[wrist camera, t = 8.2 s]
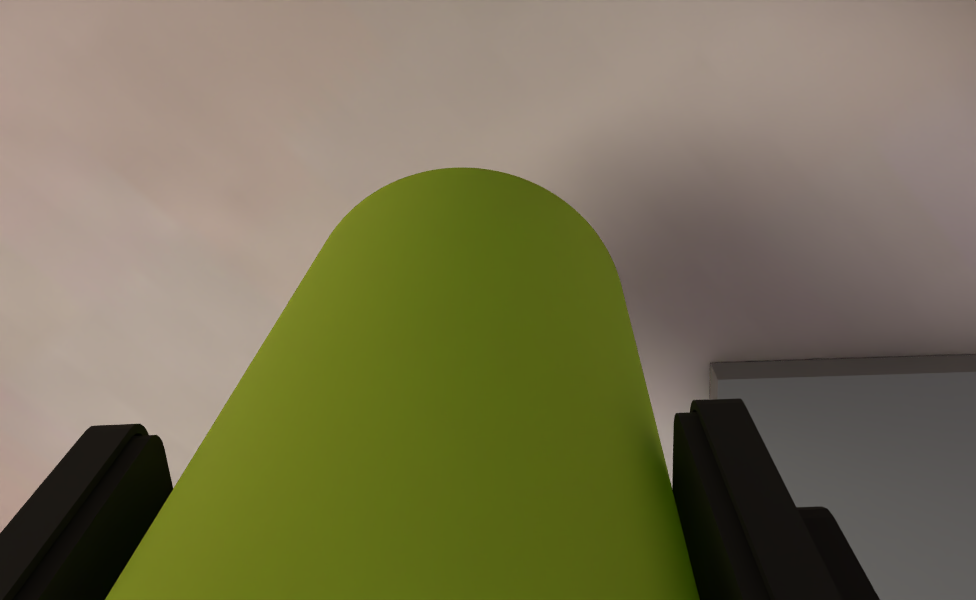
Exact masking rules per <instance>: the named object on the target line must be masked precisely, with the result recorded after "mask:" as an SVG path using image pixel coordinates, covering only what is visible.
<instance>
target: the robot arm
mask: <svg viewBox="0 0 976 600" xmlns="http://www.w3.org/2000/svg"><path fill="white" fill-rule="evenodd" d="M172 490H173V486H172V481H171V477H170V472H169V468H168V463H167V458H166V454H165V449H164V446H163V442H162V440H161V439H160V437H159V436H157V435H148V432H147V430H146V429H145V427H144V426H142V425H141V424H124V425H100V426H91V427H90V428H88V429H87V430H86V431H85V432H84V434H83V435H82V436H81V437H80V438H79V440H78V441H77V442H76V443H75V444H74V446H73V447H72V448H71V449H70V450H69V452H68V453H67V454H66V455H65V456H64V458H63V459H62V460H61V461H60V462H59V464H58V465H57V466H56V467H55V468H54V470H53V471H52V472H51V473H50V474H49V476H48V477H47V478H46V479H45V480H44V482H43V483H42V484H41V485H40V486H39V488H38V489H37V490H36V491H35V492H34V494H33V495H32V496H31V497H30V498H29V500H28V501H27V502H26V503H25V504H24V506H23V507H22V508H21V509H20V510H19V512H18V513H17V514H16V515H15V516H14V518H13V519H12V520H11V521H10V522H9V524H8V525H7V526H6V527H5V528H4V530H3V531H2V532H1V533H0V600H105V599H106V597H107V596H108V594H109V592H110V591H111V589H112V587H113V586H114V584H115V583H116V581H117V579H118V578H119V576H120V574H121V573H122V571H123V570H124V568H125V566H126V565H127V563H128V561H129V560H130V558H131V557H132V555H133V553H134V552H135V550H136V549H137V547H138V545H139V544H140V542H141V540H142V539H143V537H144V536H145V534H146V532H147V531H148V529H149V527H150V526H151V524H152V523H153V521H154V519H155V518H156V516H157V515H158V513H159V511H160V510H161V508H162V506H163V505H164V503H165V502H166V500H167V498H168V497H169V495H170V493H171V492H172ZM672 491H673V495H674V499H675V503H676V507H677V511H678V515H679V519H680V523H681V527H682V531H683V535H684V539H685V543H686V547H687V551H688V555H689V559H690V563H691V567H692V571H693V575H694V579H695V583H696V587H697V591H698V595H699V599H700V600H880V599H879V597H878V595H877V593H876V592H875V590H874V588H873V586H872V584H871V583H870V581H869V579H868V577H867V575H866V574H865V572H864V570H863V568H862V566H861V565H860V563H859V561H858V559H857V557H856V556H855V554H854V552H853V550H852V548H851V547H850V545H849V543H848V541H847V539H846V538H845V536H844V534H843V532H842V530H841V529H840V527H839V525H838V523H837V521H836V520H835V518H834V516H833V515H832V514H831V512H830V511H829V510H828V509H827V508H825V507H822V506H818V507H796V506H795V504H794V502H793V500H792V498H791V496H790V494H789V492H788V490H787V488H786V486H785V484H784V482H783V480H782V478H781V476H780V474H779V472H778V470H777V468H776V466H775V464H774V462H773V460H772V458H771V456H770V454H769V452H768V450H767V448H766V446H765V444H764V442H763V440H762V438H761V436H760V434H759V432H758V430H757V428H756V426H755V424H754V422H753V420H752V418H751V416H750V414H749V412H748V410H747V408H746V406H745V404H744V402H743V400H742V399H740V398H736V399H712V400H693V401H692V403H691V408H690V413H676V414H675V418H674V438H673V488H672Z"/></svg>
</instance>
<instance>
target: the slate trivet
mask: <svg viewBox="0 0 976 600" xmlns="http://www.w3.org/2000/svg"><path fill="white" fill-rule="evenodd" d="M736 398H740V399H742V400H743V402H744V404H745V406H746V408H747V410H748V412H749V414H750V416H751V418H752V420H753V422H754V424H755V426H756V428H757V430H758V432H759V434H760V436H761V438H762V440H763V442H764V444H765V446H766V448H767V450H768V452H769V454H770V456H771V458H772V460H773V462H774V464H775V466H776V468H777V470H778V472H779V474H780V476H781V478H782V480H783V482H784V484H785V486H786V488H787V490H788V492H789V494H790V496H791V498H792V500H793V502H794V504H795V506H796V507H818V506H822V507H825V508H827V509H828V510H829V511H830V512H831V514H832V515H833V516H834V518H835V520H836V521H837V523H838V525H839V527H840V529H841V530H842V532H843V534H844V536H845V538H846V539H847V541H848V543H849V545H850V547H851V548H852V550H853V552H854V554H855V556H856V557H857V559H858V561H859V563H860V565H861V566H862V568H863V570H864V572H865V574H866V575H867V577H868V579H869V581H870V583H871V584H872V586H873V588H874V590H875V592H876V593H877V595H878V597H879V599H880V600H976V354H972V355H941V356H911V357H880V358H849V359H818V360H787V361H756V362H725V363H710V395H709V400H712V399H736Z"/></svg>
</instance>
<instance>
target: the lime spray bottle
mask: <svg viewBox="0 0 976 600" xmlns="http://www.w3.org/2000/svg"><path fill="white" fill-rule="evenodd" d="M105 600H700V599H699V595H698V591H697V587H696V583H695V579H694V575H693V571H692V567H691V563H690V559H689V555H688V551H687V547H686V543H685V539H684V535H683V531H682V527H681V523H680V519H679V515H678V511H677V507H676V503H675V499H674V495H673V491H672V487H671V483H670V479H669V474H668V470H667V466H666V462H665V458H664V454H663V450H662V446H661V442H660V438H659V434H658V430H657V426H656V422H655V418H654V414H653V410H652V406H651V402H650V398H649V394H648V390H647V386H646V382H645V378H644V374H643V370H642V366H641V362H640V358H639V354H638V350H637V346H636V342H635V338H634V334H633V330H632V326H631V322H630V318H629V314H628V310H627V306H626V302H625V298H624V294H623V290H622V286H621V282H620V279H619V276H618V273H617V270H616V267H615V265H614V263H613V260H612V258H611V256H610V254H609V252H608V250H607V249H606V247H605V245H604V244H603V242H602V240H601V239H600V238H599V236H598V235H597V233H596V232H595V231H594V229H593V228H592V227H591V226H590V225H589V223H588V222H587V221H586V220H585V219H584V218H583V217H582V216H581V215H580V214H579V213H578V212H577V211H576V210H575V209H573V208H572V207H571V206H570V205H569V204H567V203H566V202H565V201H563V200H562V199H561V198H559V197H558V196H556V195H555V194H553V193H551V192H550V191H548V190H546V189H544V188H543V187H541V186H539V185H537V184H534V183H532V182H530V181H528V180H525V179H523V178H520V177H517V176H514V175H510V174H507V173H503V172H499V171H493V170H487V169H479V168H445V169H437V170H431V171H426V172H422V173H418V174H414V175H411V176H408V177H405V178H402V179H400V180H397V181H395V182H393V183H391V184H389V185H386V186H385V187H383V188H381V189H379V190H377V191H376V192H374V193H373V194H371V195H370V196H368V197H367V198H365V199H364V200H363V201H361V202H360V203H359V204H358V205H357V206H355V207H354V208H353V209H352V210H351V211H350V212H349V213H348V214H347V215H346V216H345V217H344V218H343V219H342V220H341V222H340V223H339V224H338V225H337V226H336V228H335V229H334V230H333V232H332V233H331V235H330V236H329V238H328V239H327V241H326V242H325V244H324V246H323V247H322V249H321V251H320V252H319V254H318V255H317V257H316V259H315V260H314V262H313V263H312V265H311V267H310V268H309V270H308V272H307V273H306V275H305V276H304V278H303V280H302V281H301V283H300V285H299V286H298V288H297V289H296V291H295V293H294V294H293V296H292V297H291V299H290V301H289V302H288V304H287V306H286V307H285V309H284V310H283V312H282V314H281V315H280V317H279V319H278V320H277V322H276V323H275V325H274V327H273V328H272V330H271V331H270V333H269V335H268V336H267V338H266V340H265V341H264V343H263V344H262V346H261V348H260V349H259V351H258V353H257V354H256V356H255V357H254V359H253V361H252V362H251V364H250V366H249V367H248V369H247V370H246V372H245V374H244V375H243V377H242V378H241V380H240V382H239V383H238V385H237V387H236V388H235V390H234V391H233V393H232V395H231V396H230V398H229V400H228V401H227V403H226V404H225V406H224V408H223V409H222V411H221V412H220V414H219V416H218V417H217V419H216V421H215V422H214V424H213V425H212V427H211V429H210V430H209V432H208V434H207V435H206V437H205V438H204V440H203V442H202V443H201V445H200V446H199V448H198V450H197V451H196V453H195V455H194V456H193V458H192V459H191V461H190V463H189V464H188V466H187V468H186V469H185V471H184V472H183V474H182V476H181V477H180V479H179V481H178V482H177V484H176V485H175V487H174V489H173V490H172V492H171V493H170V495H169V497H168V498H167V500H166V502H165V503H164V505H163V506H162V508H161V510H160V511H159V513H158V515H157V516H156V518H155V519H154V521H153V523H152V524H151V526H150V527H149V529H148V531H147V532H146V534H145V536H144V537H143V539H142V540H141V542H140V544H139V545H138V547H137V549H136V550H135V552H134V553H133V555H132V557H131V558H130V560H129V561H128V563H127V565H126V566H125V568H124V570H123V571H122V573H121V574H120V576H119V578H118V579H117V581H116V583H115V584H114V586H113V587H112V589H111V591H110V592H109V594H108V596H107V597H106V599H105Z"/></svg>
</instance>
